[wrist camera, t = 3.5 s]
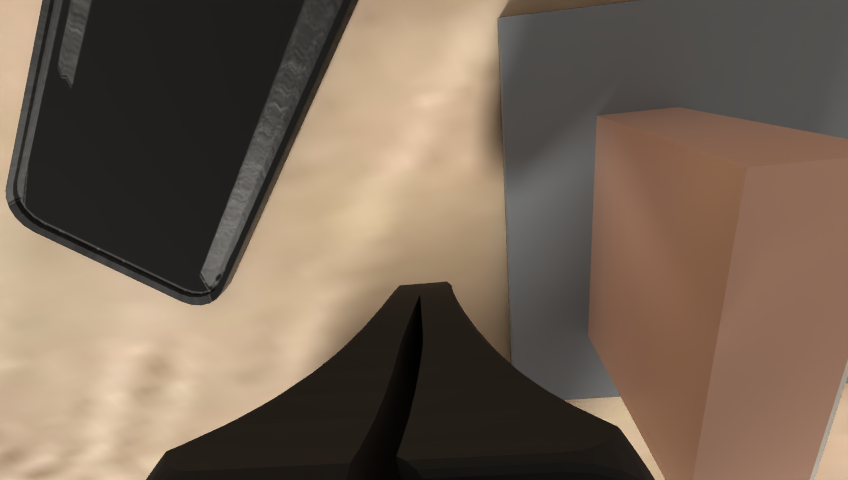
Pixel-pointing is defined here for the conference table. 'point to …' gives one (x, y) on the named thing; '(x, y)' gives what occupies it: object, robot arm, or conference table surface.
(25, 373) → the conference table surface
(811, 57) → the mat
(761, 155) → the light brown rectangular block
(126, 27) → the phone
